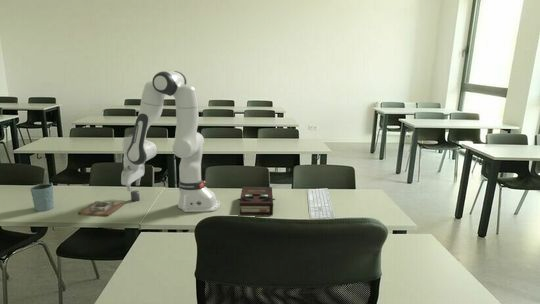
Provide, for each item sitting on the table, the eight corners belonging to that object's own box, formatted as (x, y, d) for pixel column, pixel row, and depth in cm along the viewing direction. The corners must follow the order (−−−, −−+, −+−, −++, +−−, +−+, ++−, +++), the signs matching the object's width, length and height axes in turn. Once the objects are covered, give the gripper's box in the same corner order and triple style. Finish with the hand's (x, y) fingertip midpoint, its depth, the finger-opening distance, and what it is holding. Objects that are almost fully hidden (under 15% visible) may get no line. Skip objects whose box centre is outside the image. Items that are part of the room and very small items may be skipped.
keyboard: (307, 191, 230) (307, 187, 229) (327, 191, 229) (327, 188, 229) (309, 220, 187) (309, 216, 187) (335, 221, 186) (335, 217, 186)
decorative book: (273, 184, 217) (275, 203, 188) (273, 196, 219) (275, 217, 190) (240, 184, 217) (236, 203, 188) (240, 196, 219) (236, 217, 189)
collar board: (124, 204, 203) (123, 200, 203) (108, 216, 188) (107, 211, 187) (96, 202, 205) (95, 198, 205) (78, 214, 190) (77, 209, 189)
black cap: (141, 199, 212) (140, 190, 210) (137, 201, 207) (136, 193, 206) (133, 198, 212) (132, 190, 211) (129, 201, 208) (129, 192, 207)
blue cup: (36, 213, 190) (33, 190, 187) (30, 208, 197) (27, 186, 194) (58, 208, 197) (55, 186, 194) (51, 203, 204) (48, 181, 201)
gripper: (128, 169, 195) (130, 194, 198) (146, 159, 214) (147, 182, 218) (117, 168, 195) (118, 194, 198) (135, 158, 215) (136, 182, 218)
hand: (133, 188), depth 208 cm, fingers open, 8 cm apart
